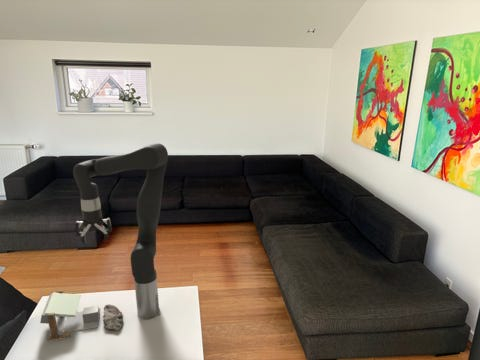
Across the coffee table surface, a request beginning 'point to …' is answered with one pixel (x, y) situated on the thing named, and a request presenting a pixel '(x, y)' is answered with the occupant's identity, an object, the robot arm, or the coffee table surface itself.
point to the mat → (78, 323)
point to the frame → (55, 326)
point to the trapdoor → (61, 305)
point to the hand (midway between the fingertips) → (95, 242)
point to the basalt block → (91, 314)
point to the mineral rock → (112, 317)
